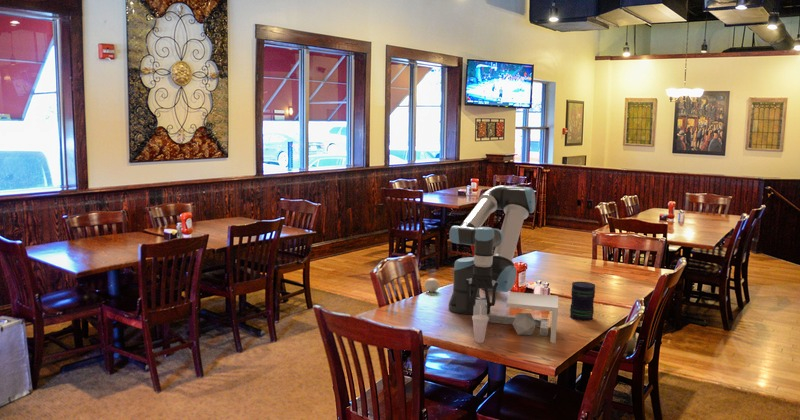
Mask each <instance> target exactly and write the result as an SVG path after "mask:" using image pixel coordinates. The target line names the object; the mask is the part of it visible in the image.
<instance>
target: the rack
mask: <svg viewBox="0 0 800 420" xmlns="http://www.w3.org/2000/svg"><path fill="white" fill-rule="evenodd" d="M505 308H515V309H524V310H525V309H526V310H534V311H537V310H538V311H545V312H546V311H547V312H551V326H550V338H549V339H550V340H549V341H550V342H552V343H551V344H557V343H556V342H557V328H558V327H557V325H558V310H559V309H558V308H559V296H558V295H553V294H552V295H551V294H540V293H530V292H529V293H528V292H516V291H509V293H508V297H507V300H506V304H505ZM550 342H549V343H550Z"/></svg>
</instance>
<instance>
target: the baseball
mask: <svg viewBox="0 0 800 420" xmlns="http://www.w3.org/2000/svg"><path fill="white" fill-rule="evenodd" d="M424 281H425V282H424V285H423V286H424V289H425V291H427V292H429V291H430V292H429V293H434V292H436V291H437V290H439V286H440V282H439V281H438V280H437V279H436V278H433V277H431V278H427V279H426V280H424Z"/></svg>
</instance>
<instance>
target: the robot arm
mask: <svg viewBox="0 0 800 420" xmlns="http://www.w3.org/2000/svg"><path fill="white" fill-rule="evenodd" d="M497 210H500V211H503V212H504V214H505V215H504V218H503V221H502V225H501V229H499V228H492V227H489V226H483V224H484V223H485V222H486V220H487V219H488V218H489V217H490V215H491V214H492V213H494V212H495V211H497ZM535 210H536V194H535V191H534V189H533V187H527V186H517V185H516V186H515V185H505V184H504V185H501V184H500V185H496V186H493V187H491V188H489V189H487V190H486V191H484V192H483V193H482V194H481V195H479V197H478V199H477V203H476V205H475V206H474V208H472V209H471V211H470V213H469V214H467V216H466V218H465V219H464V220H463V222H462V223H461V224H460V225H452V226H451V227H450V229H449V235H448V237H449V241H450V242H451V243H453V244H458V245H467V246H474V255H473V256H472V257H470V256H467V257H461V258H458V259H456V260H455V261H454V264H453V266H454V268H453V283H452V284H453V285H452V286H453V289H452V290H453V291H452V294H451V296H450V300H449V301H448V310H449V311H451V312H453V313H456V314H460V315H462V314H463V315H472V316H473V315H475V302H476V298H477V297H481V295H480V294H481V293H480V292H481V291H480V290H483V289H484V290H483V291H484V294H485V298H486V306H485V315H486V316H487V314H490V313H491V307H494V306H495V304H496V296H497V293H501V292H502V293H508V292H511V290H512V289H513V288H514V285H515V282H516V280H517V268H516V267H515V263H514V261H513V259H514V257H515V253H516V250H517V249H516V248H517V245H518V243H519V242H518V241H519V238H520V235H521V231H522V228H523V224H524V220H527V218H528V217H529V216H530V214H533V213H534V212H535ZM493 248H494V249H495V251H494V255H493ZM489 290H492V293H491V294H492V296H491V297H490V291H489Z"/></svg>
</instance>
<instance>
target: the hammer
mask: <svg viewBox="0 0 800 420" xmlns="http://www.w3.org/2000/svg"><path fill="white" fill-rule="evenodd" d="M480 305H481V315H485V306H486V305H487V302H486V297H481V296H480V297H477V298H476V302H475V315H480ZM487 316H488V317H489V320H488V322H487V323H493V324H494V323H495V324H502V325H503V324H506V325H513V322H514V320H515V317H516V315H514V314H513V315H511V314H501V313H500V314H499V313H492V312H490V314H487ZM533 319H534V320H535V322H536V326H535V328H539V336H543V337H546V336H547V337H548V334H549V323H550V322H549V321H550V319H549V318H541V317H533Z"/></svg>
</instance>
